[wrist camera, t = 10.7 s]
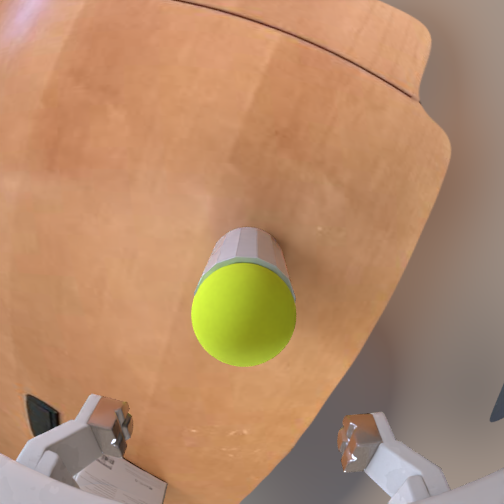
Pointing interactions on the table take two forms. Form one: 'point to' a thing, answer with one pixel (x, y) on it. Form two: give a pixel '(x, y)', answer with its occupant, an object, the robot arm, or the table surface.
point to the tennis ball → (243, 314)
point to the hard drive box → (121, 481)
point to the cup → (248, 253)
